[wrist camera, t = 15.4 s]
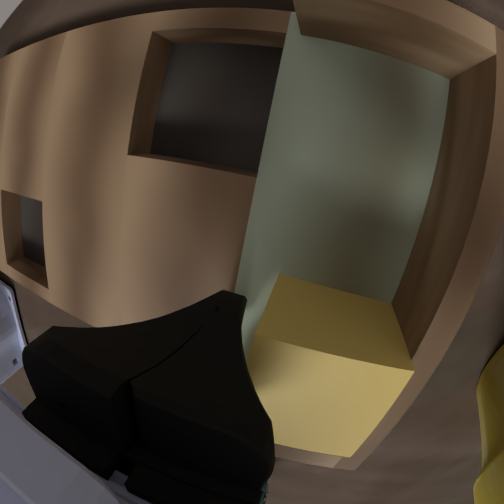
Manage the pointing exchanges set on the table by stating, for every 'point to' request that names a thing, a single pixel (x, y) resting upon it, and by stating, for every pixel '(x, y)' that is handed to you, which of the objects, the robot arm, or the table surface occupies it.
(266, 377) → the mustard block
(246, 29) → the trap board
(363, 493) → the table surface
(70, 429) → the robot arm
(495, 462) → the plant pot
